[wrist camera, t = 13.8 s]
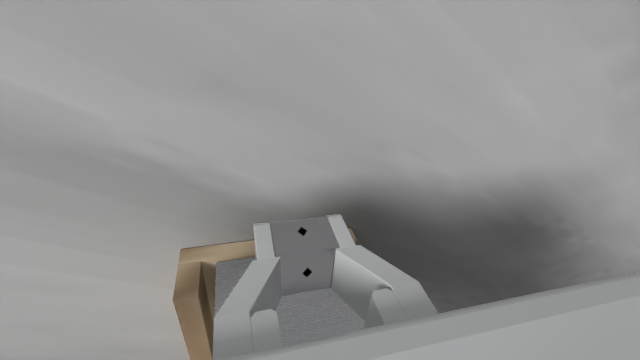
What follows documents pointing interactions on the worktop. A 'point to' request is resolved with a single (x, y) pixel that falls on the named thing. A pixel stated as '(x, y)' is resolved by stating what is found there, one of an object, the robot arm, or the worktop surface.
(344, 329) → the bookend
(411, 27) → the worktop surface
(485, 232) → the worktop surface
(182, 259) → the rack
